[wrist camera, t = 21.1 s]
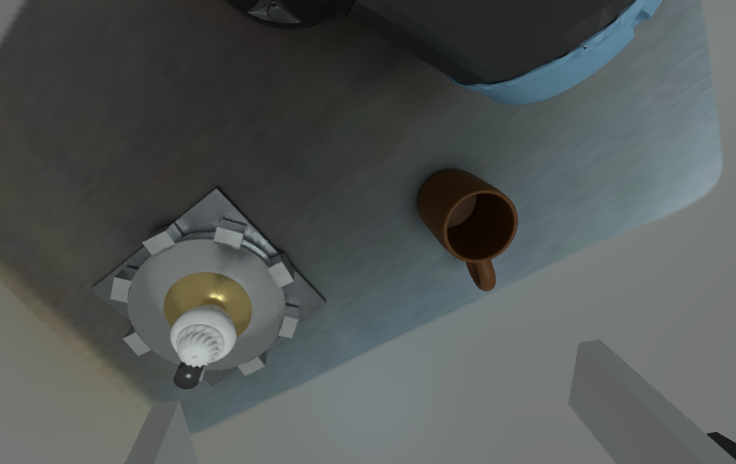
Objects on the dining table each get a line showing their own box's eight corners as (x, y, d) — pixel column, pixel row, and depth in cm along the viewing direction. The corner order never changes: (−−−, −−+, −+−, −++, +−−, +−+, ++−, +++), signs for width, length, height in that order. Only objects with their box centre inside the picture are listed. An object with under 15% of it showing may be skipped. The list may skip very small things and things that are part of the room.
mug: (490, 250, 48) (530, 288, 39) (432, 270, 48) (459, 311, 39) (473, 158, 44) (514, 177, 35) (408, 179, 43) (433, 203, 35)
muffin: (182, 339, 42) (159, 385, 36) (180, 289, 40) (156, 329, 34) (241, 340, 44) (229, 386, 37) (242, 292, 41) (230, 331, 35)
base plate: (94, 286, 43) (88, 291, 42) (218, 186, 41) (215, 189, 40) (214, 381, 49) (212, 388, 48) (326, 299, 47) (326, 304, 46)
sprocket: (109, 348, 44) (78, 389, 38) (138, 195, 39) (107, 215, 33) (273, 379, 49) (268, 420, 43) (320, 246, 44) (322, 272, 38)
